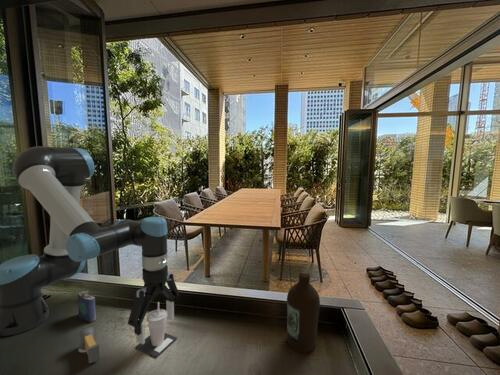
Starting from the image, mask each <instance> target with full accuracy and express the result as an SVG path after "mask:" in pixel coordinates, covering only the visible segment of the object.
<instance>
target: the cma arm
mask: <svg viewBox="0 0 500 375" xmlns="http://www.w3.org/2000/svg"><path fill="white" fill-rule="evenodd" d="M94 336H95V335H94V327H93V326H92V327H91V326H89V327H85V328H83V329H81V330H80V332H79V340H80V345H79V346H81V349H82V350H86V355H87V358H88V359H87V360H88V363H89V364H91V363H94V362H96V361H98V360H99V359H100V345H99V343H97V344H96V343H95V341H96V340H95V338H94ZM94 340H95V341H94Z"/></svg>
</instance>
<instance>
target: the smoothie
mask: <svg viewBox="0 0 500 375" xmlns="http://www.w3.org/2000/svg"><path fill="white" fill-rule="evenodd" d="M167 316H168V315H167V311H166V309H164V308H160V301H157V309H153V310H151V311H150V312H148V313H147V314H146V322H147V325H148V331H149V336H150V337H151V343H152V345H153V346H160V345H161V344H163V342H164V334H165V333H166V323H167Z"/></svg>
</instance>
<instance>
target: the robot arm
mask: <svg viewBox="0 0 500 375" xmlns="http://www.w3.org/2000/svg"><path fill="white" fill-rule="evenodd" d="M12 173H13V174H12V175H13V176H14V179H15V180H16V182H17V183H18V185H20V187H22V188H24V189H25V190H29V191H30V193H31V194H32V195H33V197H35V199H36V200H37V201H38V202H39V203H40V205H41V206H42V207H43V209H44V210H45V211H46V213H47V214H48V215H49V216H50V227H49V244H48V245H46V246H45V247H44V248H43V255H40V256H38V254H35V253H34V254H31V253H30V254H25V255H21V256H16V257H14V258H11V259H9V260H6V261H4V262H2V263H0V337H8V336H9V337H10V336H15V335H17V334H21V333H24V332H27V331H30V330H32V329H34V328H36V327H38V326H39V325H41V324H42V323H44V322H45V321H46V320H47V319H48V317H49V316H50V309H49V306H48V304H47V303H46V302H45V300H44V298H43V296H42V289H43V288H44V287H48V286H49V285H52V284H56V283H57V282H60V281H63V280H65V279H69V278H71V277H73V276H75V275H77V274H80V272H81V271H82V270H83V269H84V268H85V266H86V262H87V260H92V259H96V258H97V257H99V256H103V255H104V254H107V253H111V252H113V251H117V250H120V249H123V248H125V247H128V246H137V247H141V266H142V269H141V270H142V271H141V272H142V280H143V283H144V285H143V287H142V288H141V289H138V288H137V289H135V291H134V299H133V303H132V306H131V310H130V313H129V316H128V321H127V325H129V326H131V327H133V328H134V335H136V338H135V340H136V343H138V344H139V343H141V344H144V343H145V339H146V334H145V332H146V331H145V330H146V329H145V327H146V326H145V322H143V321H144V319H145V316H147V312H148V310H149V308H150V305H151V303H152V302H153V301H154V299H155V297H156V296H158V295H159V294H161V293H162V294H163V295H164V296H165V297H166V298H167V299H166V300H165V302H166V303H165V304H166V305H165V306H166V307H165V308H166V309H165V310H166V311H167V315H168V316H167V318H166V320H169V321H174V320H175V305H176V303H175V302H177V301H178V297H179V296H180V292H179V290H178V287H177V283H176V282H175V280H174V274H173V273H170V272H169V266H168V233H169V231H168V224H167V220H166V218H164V217H162V216H150V217H145V218H143V219H142V220H141V221H138V220H137V221H136V220H132V219H119V220H117V221H115V223H113V224H112V225H108V226H104V227H100V226H99V225H98V223H97V222H95V220H94V219H93V218H92V217H91V216H90V215H89V213H88V212H87V211H86V210H85V209H84V208H83V207H82V206H81V203H80V202H81V201H80V200H81V198H80V197H81V190H82V189H81V188H84V186H86V184H87V179H90V178H91V177H92V176H94V173H95V162H94V159H93V158H92V156H91V154H90V153H89V152H88V151H87V150H85V149H82V148H78V147H77V148H75V147H67V146H66V147H65V146H64V147H63V146H59V147H58V146H44V145H43V146H42V145H41V146H40V145H39V146H37V145H35V146H32V147H29V148H26V149H24V150H22V151H21V152H20V153H18V155H17V156H16V158H15V159H14V161H13V164H12ZM166 284H167V285H166Z"/></svg>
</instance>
